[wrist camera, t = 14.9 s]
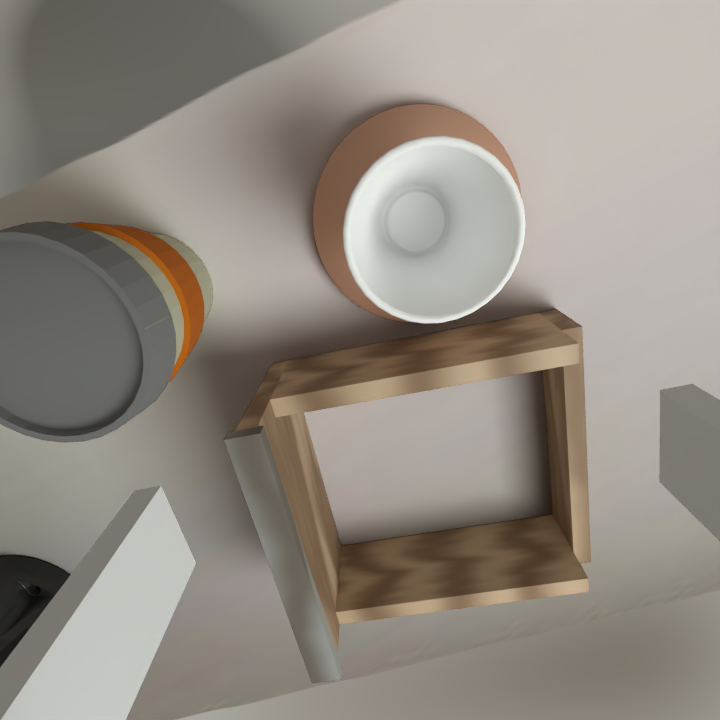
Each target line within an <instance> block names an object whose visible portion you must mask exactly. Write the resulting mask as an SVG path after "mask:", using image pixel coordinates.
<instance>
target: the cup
mask: <svg viewBox="0 0 720 720" xmlns="http://www.w3.org/2000/svg"><path fill="white" fill-rule="evenodd" d="M524 235H525V214H524V205H523V202H522V199H521V195H520V192H519V189H518V186H517V185H516V183H515V181H514V179H513V178H512V176H511V174H510V173H509V171H508V170H507V169H506V167H505V166H504V165H503V164H502V163H501V162H500V161H499V160H498V159H497V158H496V157H495V156H494V155H493V154H491V153H490V152H488V151H487V150H485V149H484V148H483V147H481V146H479V145H477V144H474V143H472V142H470V141H467V140H465V139H461V138H455V137H449V136H427V137H421V138H418V139H414V140H410V141H407V142H404V143H402V144H400V145H399V146H397V147H395V148H393V149H391V150H389V151H387V152H386V153H385V154H384V155H382V156H381V157H380V158H379V159H377V160H376V161H375V162H374V163H373V164H372V165H371V166H370V167H369V168H368V170H367V171H366V172H365V173H364V174H363V175H362V177H361V178H360V180H359V181H358V183H357V185H356V187H355V188H354V190H353V192H352V194H351V196H350V199H349V202H348V205H347V208H346V211H345V217H344V224H343V246H344V252H345V256H346V260H347V264H348V267H349V269H350V272H351V274H352V276H353V278H354V280H355V282H356V283H357V285H358V286H359V287H360V289H361V290H362V292H363V293H364V294H365V296H366V297H368V298H369V299H370V300H371V301H372V302H373V303H374V304H375V305H376V306H377V307H379V308H381V309H382V310H384V311H386V312H387V313H389V314H391V315H392V316H395V317H398V318H401V319H403V320H406V321H411V322H417V323H442V322H447V321H451V320H456V319H459V318H461V317H463V316H466V315H468V314H470V313H473V312H474V311H476V310H477V309H479V308H480V307H482V306H483V305H485V304H486V303H488V302H489V301H490V300H491V299H492V298H493V297H494V296H495V295H496V294H497V293H498V292H499V291H500V290H501V289H502V288H503V286H504V285H505V283H506V282H507V281H508V279H509V278H510V277H511V275H512V273H513V271H514V269H515V267H516V265H517V263H518V261H519V258H520V254H521V251H522V247H523V243H524Z"/></svg>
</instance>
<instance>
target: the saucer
mask: <svg viewBox="0 0 720 720" xmlns="http://www.w3.org/2000/svg"><path fill="white" fill-rule="evenodd" d="M427 136H449V137H455V138H461V139H465V140H467V141H470V142H472V143H474V144H477V145H479V146H481V147H483V148H484V149H485V150H487V151H488V152H490V153H491V154H493V155H494V156H495V157H496V158H497V159H498V160H499V161H500V162H501V163H502V164H503V165H504V166H505V167H506V169H507V170H508V171H509V173H510V174H511V176H512V178H513V179H514V181H515V183H516V185H517V186H518V189H519V192H520V195H521V191H520V184H519V181H518V177H517V174H516V171H515V168H514V166H513V164H512V161H511V159H510V157H509V155H508V154H507V152H506V151H505V149H504V147H503V146H502V144H501V143H500V142H499V141H498V140H497V138H496V137H495V136H494V135H493V134H492V133H491V132H490V131H489V130H488V129H487V128H486V127H485V126H483V125H482V124H481V123H479V122H478V121H476V120H475V119H473V118H472V117H470V116H468V115H466V114H464V113H462V112H460V111H457V110H454V109H451V108H447V107H444V106H438V105H431V104H412V105H406V106H400V107H396V108H393V109H390V110H386V111H384V112H381V113H379V114H377V115H375V116H373V117H371V118H369V119H368V120H366V121H365V122H363V123H362V124H360V125H359V126H357V127H356V128H355V129H354V130H353V131H352V132H351V133H350V134H348V135H347V136H346V137H345V138H344V140H343V141H342V142H341V143H340V144H339V145H338V147H337V148H336V149H335V151H334V152H333V154H332V155H331V157H330V158H329V160H328V162H327V164H326V166H325V168H324V170H323V172H322V174H321V177H320V180H319V183H318V186H317V190H316V194H315V199H314V208H313V229H314V236H315V241H316V246H317V249H318V252H319V255H320V258H321V260H322V262H323V265H324V267H325V269H326V271H327V272H328V274H329V276H330V277H331V279H332V280H333V282H334V283H335V284H336V285H337V287H338V288H339V289H340V290H341V291H342V292H343V293H344V294H345V295H346V296H347V297H348V298H349V299H350V300H352V301H353V302H354V303H356V304H357V305H358V306H360V307H362V308H363V309H365V310H367V311H369V312H371V313H373V314H375V315H378V316H381V317H383V318H387V319H391V320H396V321H404V322H411V321H406V320H403V319H401V318H398V317H395V316H392V315H391V314H389V313H387V312H386V311H384V310H382V309H381V308H379V307H377V306H376V305H375V304H374V303H373V302H372V301H371V300H370V299H369V298H368V297H366V296H365V294H364V293H363V292H362V290H361V289H360V287H359V286H358V285H357V283H356V282H355V280H354V278H353V276H352V274H351V272H350V269H349V267H348V264H347V260H346V256H345V252H344V246H343V224H344V217H345V211H346V208H347V205H348V202H349V199H350V196H351V194H352V192H353V190H354V188H355V187H356V185H357V183H358V181H359V180H360V178H361V177H362V175H363V174H364V173H365V172H366V171H367V170H368V168H369V167H370V166H371V165H372V164H373V163H374V162H375V161H376V160H377V159H379V158H380V157H381V156H382V155H384V154H385V153H386V152H387V151H389V150H391V149H393V148H395V147H397V146H399V145H400V144H402V143H404V142H407V141H410V140H414V139H418V138H421V137H427ZM521 199H522V197H521Z"/></svg>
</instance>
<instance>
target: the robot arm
mask: <svg viewBox="0 0 720 720" xmlns="http://www.w3.org/2000/svg"><path fill="white" fill-rule="evenodd" d="M660 483H661V484H662V485H663V486H664V487H665V488H666V489H667V490H668V491H669V492H670V493H671V494H672V495H673V496H674V497H675V498H676V499H677V500H678V501H679V502H680V503H681V504H682V505H683V506H685V507H686V508H687V509H688V510H689V511H690V512H691V513H692V514H693V515H694V516H695V517H696V518H697V519H698V520H699V521H700V522H701V523H702V524H703V525H704V526H705V527H706V528H707V529H708V530H709V531H710V532H711V533H712V534H713V535H714V536H715V537H716V538H717V539H718V540H719V541H720V400H719V399H717V398H715V397H714V396H712V395H710V394H709V393H707V392H705V391H703V390H702V389H700V388H698V387H697V386H695V385H693V384H689V385H684V386H679V387H674V388H669V389H663V390H660ZM195 564H196V562H195V560H194V558H193V556H192V553H191V551H190V549H189V547H188V544H187V542H186V540H185V538H184V536H183V533H182V531H181V529H180V527H179V524H178V522H177V520H176V518H175V516H174V513H173V511H172V509H171V507H170V504H169V502H168V500H167V498H166V495H165V493H164V491H163V489H162V487H161V486H157V487H152V488H147V489H141V490H136V491H134V492H133V494H132V495H131V496H130V498H129V499H128V500H127V502H126V503H125V504H124V506H123V507H122V508H121V509H120V511H119V512H118V513H117V515H116V516H115V517H114V519H113V520H112V521H111V523H110V524H109V525H108V527H107V528H106V529H105V530H104V532H103V533H102V534H101V536H100V537H99V538H98V540H97V541H96V542H95V544H94V545H93V546H92V548H91V549H90V550H89V552H88V553H87V554H86V555H85V557H84V558H83V559H82V561H81V562H80V563H79V565H78V566H77V567H76V569H75V570H74V571H73V573H72V574H71V575H69V574H68V573H66V572H64V571H63V570H61V569H59V568H57V567H55V566H53V565H51V564H49V563H46V562H43V561H40V560H37V559H33V558H28V557H21V556H3V557H0V720H126V718H127V716H128V713H129V711H130V709H131V707H132V705H133V702H134V700H135V698H136V696H137V693H138V691H139V689H140V687H141V684H142V682H143V680H144V678H145V676H146V673H147V671H148V669H149V667H150V664H151V662H152V660H153V658H154V656H155V653H156V651H157V649H158V647H159V644H160V642H161V640H162V638H163V635H164V633H165V631H166V629H167V627H168V624H169V622H170V620H171V618H172V615H173V613H174V611H175V609H176V607H177V604H178V602H179V600H180V598H181V595H182V593H183V591H184V589H185V586H186V584H187V582H188V580H189V578H190V575H191V573H192V571H193V569H194V566H195Z"/></svg>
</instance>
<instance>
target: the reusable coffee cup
mask: <svg viewBox="0 0 720 720" xmlns="http://www.w3.org/2000/svg"><path fill="white" fill-rule="evenodd" d="M212 301H213V288H212V283H211V278H210V276H209V273H208V271H207V269H206V267H205V265H204V264H203V262H202V260H201V259H200V258H199V257H198V256H197V255H196V253H195V252H194V251H193V250H191V249H190V248H189V247H188V246H186V245H185V244H184V243H182V242H180V241H178V240H176V239H174V238H171V237H168V236H165V235H160V234H151V233H149V232H146V231H143V230H140V229H137V228H134V227H126V226H118V225H106V224H95V223H83V222H79V223H66V224H63V223H56V222H35V223H25V224H22V225H18V226H14V227H11V228H7V229H4V230H0V424H1V425H3V426H5V427H8V428H10V429H12V430H14V431H16V432H19V433H21V434H23V435H27V436H30V437H34V438H38V439H41V440H47V441H55V442H82V441H87V440H91V439H95V438H99V437H102V436H104V435H106V434H108V433H110V432H112V431H114V430H116V429H118V428H119V427H121V426H122V425H123V424H125V423H126V422H128V421H129V420H130V419H132V418H133V417H135V416H136V415H138V414H139V413H140V412H142V411H143V410H144V409H146V408H147V407H148V406H149V405H151V404H152V403H153V402H154V401H156V399H157V398H158V397H159V395H160V394H161V393H162V392H163V390H164V389H165V388H166V386H167V383H168V382H169V381H170V380H171V379H172V378H173V377H174V375H175V374H176V373H177V371H178V370H179V369H180V368H181V366H182V365H183V363H184V361H185V360H186V358H187V357H188V355H189V354H190V352H191V350H192V349H193V347H194V346H195V344H196V343H197V340H198V338H199V336H200V334H201V332H202V327H203V323H204V321H205V319H206V318H207V316H208V314H209V312H210V309H211V305H212Z"/></svg>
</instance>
